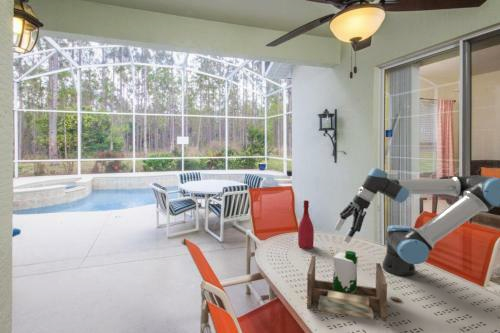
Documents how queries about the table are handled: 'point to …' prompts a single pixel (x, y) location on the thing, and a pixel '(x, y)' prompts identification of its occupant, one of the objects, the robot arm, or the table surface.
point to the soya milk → (345, 272)
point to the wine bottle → (305, 229)
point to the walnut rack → (374, 302)
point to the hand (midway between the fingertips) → (340, 235)
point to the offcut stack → (346, 304)
